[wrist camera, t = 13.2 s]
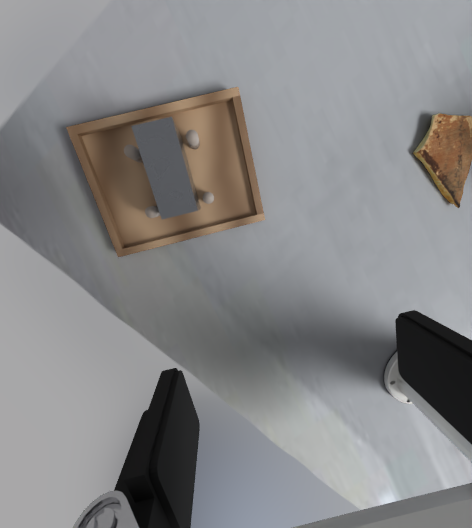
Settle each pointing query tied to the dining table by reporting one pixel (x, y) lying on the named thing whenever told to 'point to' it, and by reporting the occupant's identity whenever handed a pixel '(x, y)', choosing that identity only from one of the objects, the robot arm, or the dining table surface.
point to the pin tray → (200, 162)
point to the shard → (448, 153)
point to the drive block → (167, 167)
